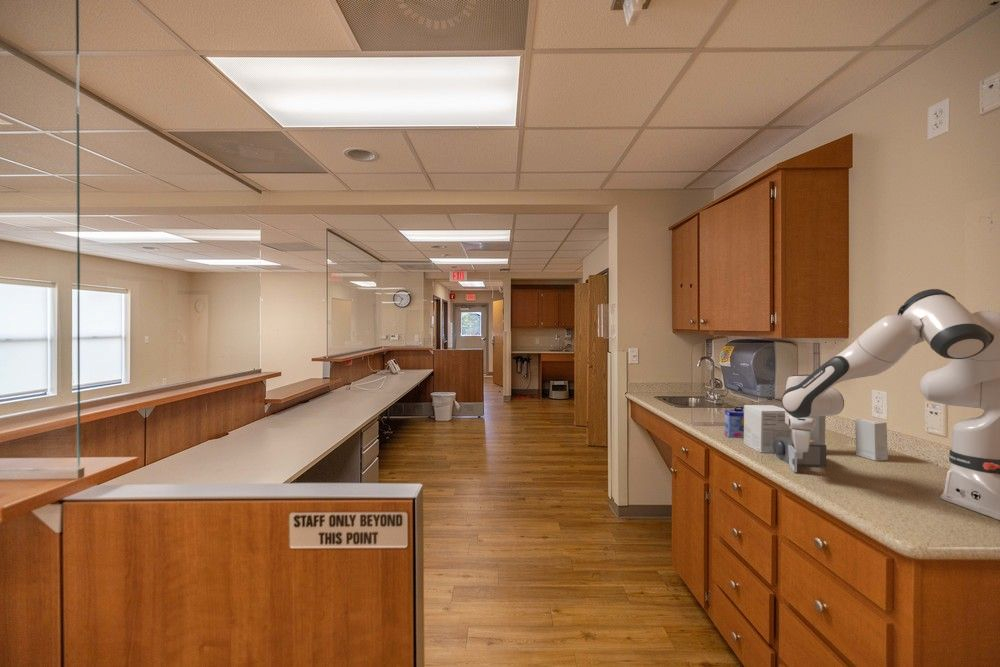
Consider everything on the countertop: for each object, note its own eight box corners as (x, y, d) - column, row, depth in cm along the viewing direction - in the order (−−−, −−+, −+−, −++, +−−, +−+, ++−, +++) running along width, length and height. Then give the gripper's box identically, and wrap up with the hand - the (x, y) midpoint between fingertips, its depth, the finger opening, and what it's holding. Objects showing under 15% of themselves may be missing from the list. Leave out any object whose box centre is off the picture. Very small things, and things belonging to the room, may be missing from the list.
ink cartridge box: (728, 437, 197) (729, 406, 197) (723, 434, 203) (724, 404, 203) (751, 438, 197) (751, 407, 196) (745, 435, 202) (745, 405, 202)
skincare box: (888, 460, 165) (889, 422, 165) (874, 461, 164) (875, 423, 164) (866, 454, 173) (867, 418, 173) (853, 454, 172) (854, 418, 172)
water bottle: (829, 455, 171) (831, 393, 171) (807, 454, 173) (809, 393, 172) (817, 448, 180) (818, 390, 180) (796, 447, 182) (798, 389, 181)
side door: (792, 471, 150) (792, 451, 150) (786, 463, 160) (787, 444, 160) (796, 472, 150) (797, 452, 150) (790, 463, 160) (791, 444, 159)
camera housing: (826, 466, 157) (826, 443, 157) (787, 465, 159) (787, 441, 159) (807, 457, 168) (808, 435, 168) (771, 456, 170) (771, 434, 170)
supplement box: (793, 453, 174) (793, 411, 173) (760, 453, 174) (761, 410, 174) (772, 444, 187) (773, 404, 187) (742, 444, 187) (743, 404, 187)
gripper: (787, 413, 161) (786, 449, 162) (790, 424, 144) (790, 464, 144) (807, 415, 158) (807, 451, 158) (813, 426, 141) (813, 467, 141)
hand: (799, 457), depth 151 cm, fingers closed
